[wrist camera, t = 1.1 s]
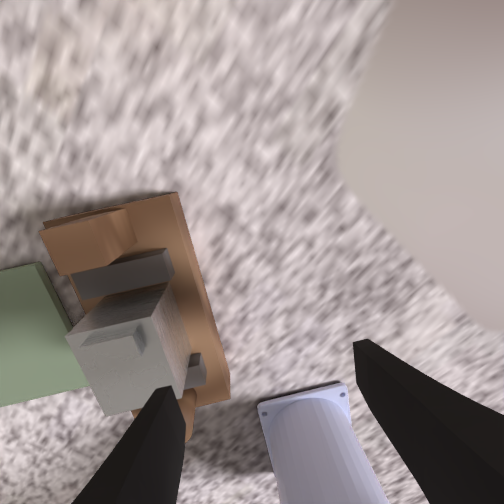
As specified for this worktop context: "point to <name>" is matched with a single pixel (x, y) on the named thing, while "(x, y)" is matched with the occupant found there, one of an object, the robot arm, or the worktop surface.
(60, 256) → the plane body
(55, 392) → the rubber mat
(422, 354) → the worktop surface
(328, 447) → the robot arm
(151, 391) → the lever cap
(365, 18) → the worktop surface
